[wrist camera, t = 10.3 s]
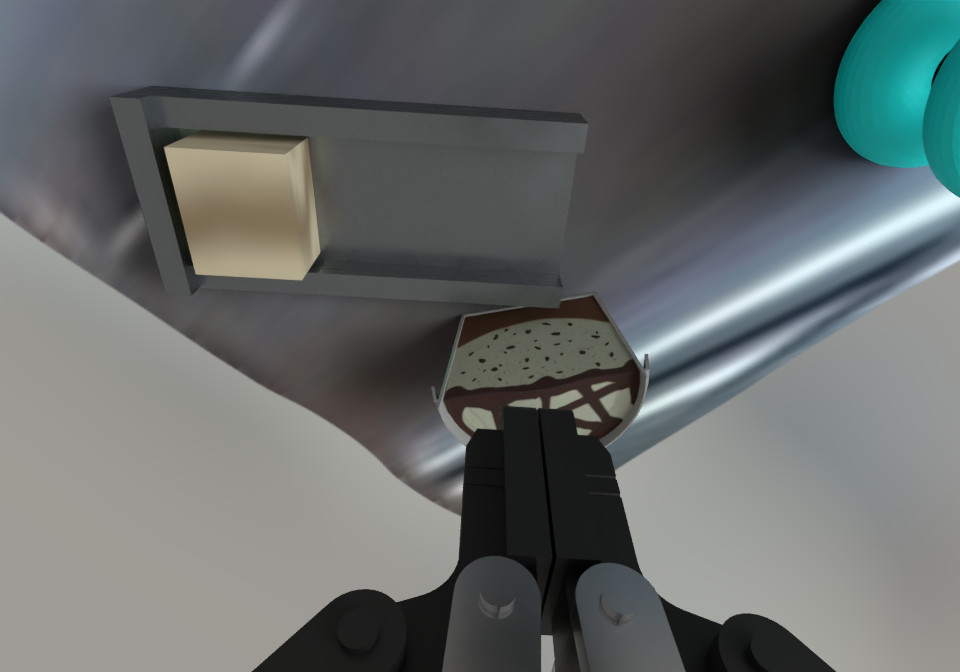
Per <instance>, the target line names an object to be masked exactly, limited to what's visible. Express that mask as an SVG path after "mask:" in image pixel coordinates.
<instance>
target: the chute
mask: <svg viewBox="0 0 960 672" xmlns="http://www.w3.org/2000/svg"><path fill="white" fill-rule="evenodd" d="M109 98H110V102H111V105H112V109H113V112H114V116H115V119H116V123H117V126H118V130H119V133H120V136H121V140H122V143H123V147H124V150H125V154H126V157H127V161H128V164H129V167H130V171H131V174H132V178H133V181H134V185H135V188H136V192H137V195H138V199H139V202H140V205H141V209H142V212H143V216H144V219H145V223H146V226H147V230H148V233H149V236H150V240H151V243H152V247H153V250H154V254H155V257H156V261H157V264H158V267H159V271H160V274H161V278H162V281H163V285H164V288H165V292H166V294H170V295H188V296H191V295H192V294H194V293H195V292H196V291H197V290H198V289H199V288H206V289H223V290H241V291H259V292H276V293H294V294H312V295H330V296H347V297H365V298H383V299H400V300H418V301H436V302H454V303H471V304H489V305H507V306H525V307H542V308H559V307H560V301H561V295H562V288H563V287H562V283H561V279H560V275H559V269H560V263H561V256H562V249H563V243H564V236H565V230H566V223H567V216H568V210H569V203H570V197H571V190H572V183H573V177H574V170H575V164H576V157H577V153H582V154H584V149H585V143H586V136H587V130H588V123H587V122H586V120H585V119H584V118H583V117H582V116H581V114H576V113H561V112H545V111H530V110H515V109H499V108H484V107H468V106H453V105H437V104H422V103H406V102H391V101H375V100H360V99H344V98H329V97H313V96H298V95H282V94H267V93H252V92H236V91H221V90H205V89H190V88H174V87H159V86H151V87H147V88H143V89H139V90H135V91H131V92H127V93H123V94H119V95H115V96H111V97H109ZM199 131H214V132H229V133H245V134H261V135H277V136H293V137H308V144H309V153H310V162H311V171H312V180H313V189H314V198H315V208H316V217H317V226H318V235H319V244H320V254H319V255H318V257H317V258H316V260H315V261H314V263H313V264H312V266H311V267H310V269H309V270H308V272H307V273H306V275H305V276H304V278H303V279H302V280H285V279H268V278H250V277H233V276H215V275H198V274H196V273H195V269H194V265H193V261H192V257H191V253H190V249H189V245H188V241H187V237H186V233H185V229H184V225H183V221H182V217H181V213H180V209H179V205H178V201H177V197H176V194H175V190H174V186H173V182H172V178H171V174H170V170H169V166H168V162H167V158H166V154H165V150H164V147H165V146H167V145H170V144H172V143H174V142H176V141H179V140H181V139H183V138H185V137H188V136H190V135H192V134H194V133H196V132H199Z"/></svg>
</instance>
